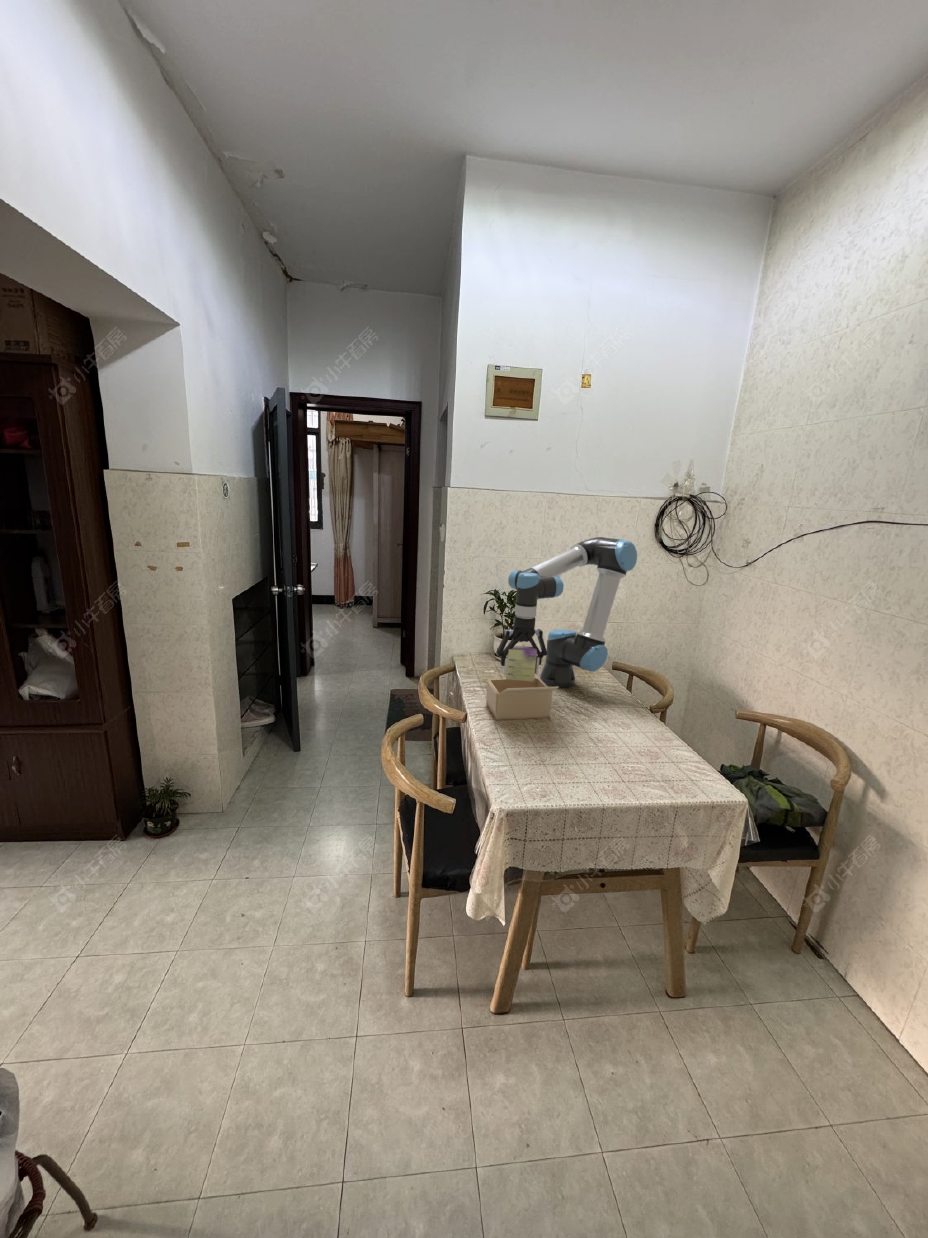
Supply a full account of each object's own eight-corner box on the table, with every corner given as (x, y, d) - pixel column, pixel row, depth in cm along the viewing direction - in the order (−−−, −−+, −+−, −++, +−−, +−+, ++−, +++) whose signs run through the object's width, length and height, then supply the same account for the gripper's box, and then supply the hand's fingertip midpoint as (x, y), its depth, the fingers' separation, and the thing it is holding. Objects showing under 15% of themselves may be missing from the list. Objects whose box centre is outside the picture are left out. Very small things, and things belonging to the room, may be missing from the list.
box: (533, 676, 187) (536, 646, 184) (534, 682, 181) (537, 651, 178) (505, 674, 188) (508, 644, 185) (505, 679, 182) (507, 648, 179)
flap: (558, 686, 173) (559, 687, 173) (550, 690, 180) (550, 691, 180) (507, 688, 169) (507, 689, 169) (501, 692, 176) (501, 693, 176)
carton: (537, 701, 197) (539, 677, 194) (550, 717, 183) (553, 692, 181) (485, 703, 192) (486, 679, 190) (495, 720, 179) (496, 694, 176)
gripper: (552, 613, 185) (546, 669, 190) (490, 613, 180) (486, 670, 185) (560, 618, 178) (554, 676, 183) (495, 618, 172) (491, 678, 178)
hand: (520, 673), depth 184 cm, fingers closed on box, 11 cm apart
